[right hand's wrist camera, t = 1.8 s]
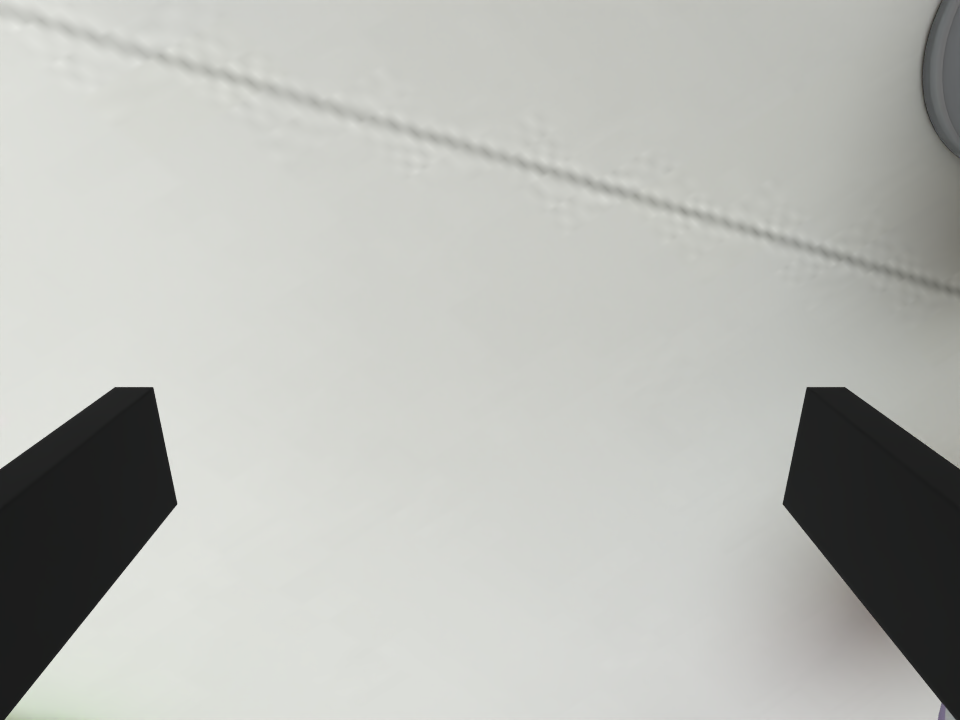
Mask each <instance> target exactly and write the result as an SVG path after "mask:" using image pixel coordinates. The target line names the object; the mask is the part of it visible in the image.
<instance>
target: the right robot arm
mask: <svg viewBox="0 0 960 720" xmlns="http://www.w3.org/2000/svg"><path fill="white" fill-rule="evenodd" d="M923 90H924V98H925V103H926V107H927V111H928V114H929V117H930V120H931V122H932V124H933V127H934V129H935V131H936V132H937V134H938V135H939V137H940V139H941V140H942V141H943V142H944V144H945V145H946V146H947V147H948V148H949V149H950V150H951V151H952V152H953V153H954V154H955V155H956V156H958V157H959V158H960V0H943V1H942V3H941V5H940V7H939V9H938V12H937V14H936V16H935V19H934V21H933V24H932V27H931V30H930V33H929V37H928V41H927V45H926V51H925V57H924V65H923ZM176 505H177V500H176V495H175V490H174V486H173V481H172V476H171V471H170V466H169V461H168V457H167V452H166V447H165V442H164V437H163V432H162V428H161V423H160V418H159V413H158V408H157V403H156V398H155V394H154V389H153V387H115V388H113V389H112V390H111V391H109V392H108V393H106V394H105V395H104V396H102V397H101V398H99V399H98V400H97V401H95V402H94V403H92V404H91V405H90V406H88V407H87V408H85V409H84V410H83V411H81V412H80V413H78V414H77V415H76V416H74V417H73V418H71V419H70V420H69V421H67V422H66V423H64V424H63V425H62V426H60V427H59V428H57V429H56V430H55V431H53V432H52V433H50V434H49V435H48V436H46V437H45V438H43V439H42V440H41V441H39V442H38V443H36V444H35V445H34V446H32V447H31V448H29V449H28V450H27V451H25V452H24V453H22V454H21V455H20V456H18V457H17V458H15V459H14V460H13V461H11V462H10V463H8V464H7V465H6V466H4V467H3V468H1V469H0V720H5V718H6V717H7V716H8V715H9V713H10V712H11V711H12V710H13V708H14V707H15V706H16V705H17V703H18V702H19V701H20V700H21V698H22V697H23V696H24V695H25V693H26V692H27V691H28V690H29V688H30V687H31V686H32V685H33V683H34V682H35V681H36V680H37V678H38V677H39V676H40V675H41V673H42V672H43V671H44V670H45V668H46V667H47V666H48V665H49V663H50V662H51V661H52V660H53V658H54V657H55V656H56V655H57V654H58V652H59V651H60V650H61V649H62V647H63V646H64V645H65V644H66V642H67V641H68V640H69V639H70V637H71V636H72V635H73V634H74V632H75V631H76V630H77V629H78V627H79V626H80V625H81V624H82V622H83V621H84V620H85V619H86V617H87V616H88V615H89V614H90V612H91V611H92V610H93V609H94V607H95V606H96V605H97V604H98V602H99V601H100V600H101V599H102V597H103V596H104V595H105V594H106V592H107V591H108V590H109V589H110V587H111V586H112V585H113V584H114V582H115V581H116V580H117V579H118V577H119V576H120V575H121V574H122V572H123V571H124V570H125V569H126V567H127V566H128V565H129V564H130V562H131V561H132V560H133V559H134V557H135V556H136V555H137V554H138V552H139V551H140V550H141V549H142V548H143V546H144V545H145V544H146V543H147V541H148V540H149V539H150V538H151V536H152V535H153V534H154V533H155V531H156V530H157V529H158V528H159V526H160V525H161V524H162V523H163V521H164V520H165V519H166V518H167V516H168V515H169V514H170V513H171V511H172V510H173V509H174V508H175V506H176ZM783 505H784V506H785V508H786V509H787V510H788V511H789V513H790V514H791V515H792V516H793V518H794V519H795V520H796V521H797V523H798V524H799V525H800V526H801V528H802V529H803V530H804V531H805V533H806V534H807V535H808V536H809V538H810V539H811V540H812V541H813V543H814V544H815V545H816V546H817V548H818V549H819V550H820V551H821V552H822V554H823V555H824V556H825V557H826V559H827V560H828V561H829V562H830V564H831V565H832V566H833V567H834V569H835V570H836V571H837V572H838V574H839V575H840V576H841V577H842V579H843V580H844V581H845V582H846V584H847V585H848V586H849V587H850V589H851V590H852V591H853V592H854V594H855V595H856V596H857V597H858V599H859V600H860V601H861V602H862V604H863V605H864V606H865V607H866V609H867V610H868V611H869V612H870V614H871V615H872V616H873V617H874V619H875V620H876V621H877V622H878V624H879V625H880V626H881V627H882V629H883V630H884V631H885V632H886V634H887V635H888V636H889V637H890V639H891V640H892V641H893V642H894V644H895V645H896V646H897V647H898V649H899V650H900V651H901V652H902V654H903V655H904V656H905V657H906V658H907V660H908V661H909V662H910V663H911V665H912V666H913V667H914V668H915V670H916V671H917V672H918V673H919V675H920V676H921V677H922V678H923V680H924V681H925V682H926V683H927V685H928V686H929V687H930V688H931V690H932V691H933V692H934V693H935V695H936V696H937V697H938V698H939V700H940V701H941V702H942V703H943V705H944V706H945V707H946V708H947V710H948V711H949V712H950V713H951V715H952V716H953V717H954V718H955V720H960V469H959V468H957V467H956V466H954V465H953V464H952V463H950V462H949V461H947V460H946V459H945V458H943V457H942V456H940V455H939V454H938V453H936V452H935V451H933V450H932V449H931V448H929V447H928V446H926V445H925V444H924V443H922V442H921V441H919V440H918V439H917V438H915V437H914V436H912V435H911V434H910V433H908V432H907V431H905V430H904V429H903V428H901V427H900V426H898V425H897V424H896V423H894V422H893V421H891V420H890V419H889V418H887V417H886V416H884V415H883V414H882V413H880V412H879V411H877V410H876V409H875V408H873V407H872V406H870V405H869V404H868V403H866V402H865V401H863V400H862V399H861V398H859V397H858V396H856V395H855V394H854V393H852V392H851V391H849V390H848V389H847V388H845V387H807V389H806V394H805V398H804V403H803V408H802V413H801V418H800V423H799V428H798V432H797V437H796V442H795V447H794V452H793V457H792V461H791V466H790V471H789V476H788V481H787V486H786V490H785V495H784V500H783Z"/></svg>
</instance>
